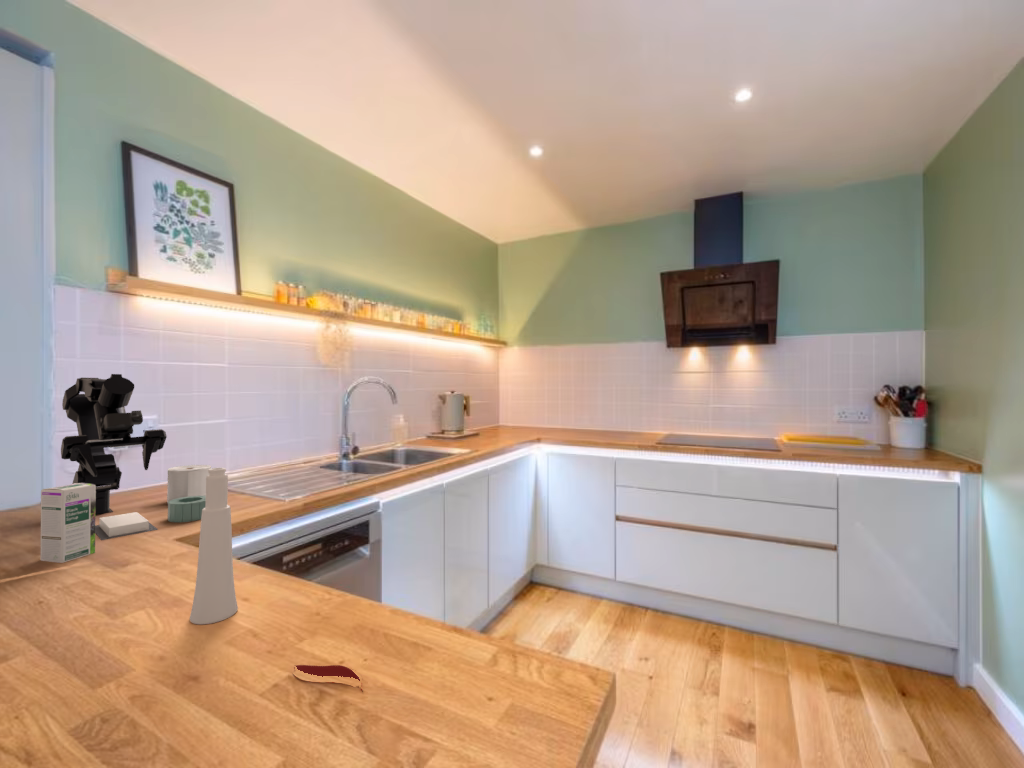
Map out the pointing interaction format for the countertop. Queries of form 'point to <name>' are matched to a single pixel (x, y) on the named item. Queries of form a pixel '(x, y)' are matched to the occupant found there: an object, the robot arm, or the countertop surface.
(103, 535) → the mat
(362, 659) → the countertop surface
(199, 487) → the toilet tissue
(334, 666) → the cayenne pepper
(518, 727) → the countertop surface
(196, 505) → the bowl
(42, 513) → the syrup box
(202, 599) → the cosmetic bottle
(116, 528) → the white rectangular block
